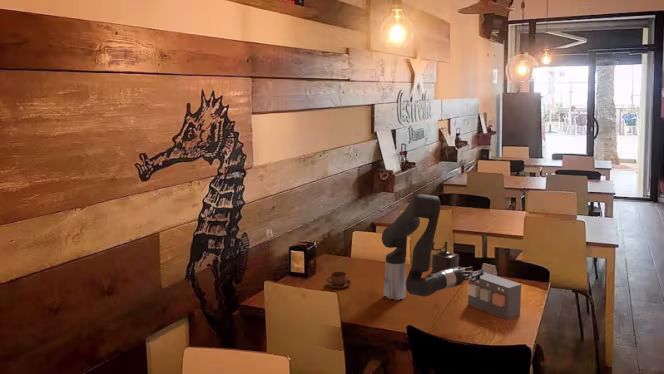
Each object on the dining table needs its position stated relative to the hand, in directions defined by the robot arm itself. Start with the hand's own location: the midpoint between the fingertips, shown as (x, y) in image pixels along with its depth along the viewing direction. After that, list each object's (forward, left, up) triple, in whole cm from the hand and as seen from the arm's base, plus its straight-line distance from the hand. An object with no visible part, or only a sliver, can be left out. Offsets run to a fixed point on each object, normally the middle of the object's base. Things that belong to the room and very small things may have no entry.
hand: (477, 270), depth 252 cm
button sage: (+7, +1, -14) cm, 16 cm away
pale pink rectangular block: (+31, +30, -20) cm, 47 cm away
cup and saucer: (-36, +61, -20) cm, 74 cm away
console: (+11, +2, -20) cm, 23 cm away
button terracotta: (+8, -6, -14) cm, 17 cm away
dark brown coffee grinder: (+21, +55, -20) cm, 62 cm away
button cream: (+5, +8, -14) cm, 17 cm away
